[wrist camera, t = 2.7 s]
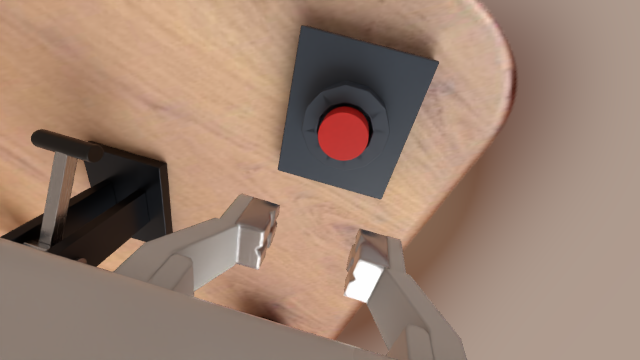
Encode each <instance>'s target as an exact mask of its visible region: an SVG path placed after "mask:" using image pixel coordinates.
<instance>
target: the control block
mask: <svg viewBox="0 0 640 360" xmlns="http://www.w3.org/2000/svg"><path fill="white" fill-rule="evenodd" d="M438 64H439V62H438V61H436V60H434V59H430V58H426V57H423V56H419V55H415V54H411V53H408V52H404V51H400V50H396V49H392V48H389V47H385V46H381V45H377V44H374V43H370V42H366V41H362V40H358V39H355V38H351V37H347V36H343V35H340V34H336V33H332V32H328V31H325V30H321V29H317V28H313V27H309V26H303V25H302V26H301V30H300V36H299V42H298V48H297V55H296V61H295V67H294V73H293V79H292V85H291V91H290V98H289V104H288V110H287V116H286V122H285V128H284V134H283V141H282V147H281V153H280V159H279V165H278V170H280V171H283V172H287V173H290V174H294V175H297V176H301V177H304V178H308V179H311V180H314V181H318V182H321V183H325V184H328V185H332V186H335V187H339V188H342V189H346V190H349V191H353V192H356V193H360V194H363V195H367V196H370V197H374V198H377V199H382V197H383V194H384V192H385V189H386V187H387V185H388V182H389V180H390V178H391V175H392V173H393V170H394V168H395V166H396V163H397V161H398V159H399V156H400V154H401V152H402V149H403V147H404V144H405V142H406V140H407V137H408V135H409V133H410V130H411V128H412V126H413V123H414V121H415V118H416V116H417V114H418V111H419V109H420V107H421V104H422V102H423V100H424V97H425V95H426V92H427V90H428V88H429V85H430V83H431V81H432V78H433V76H434V74H435V71H436V69H437V66H438ZM342 106H348V107H352V108H355V109H357V110H359V111H360V112H361V113H362V114H363V115H364V116H365V118H366V120H367V122H368V126H369V137H368V143H367V146H366V148H365V150H364V151H363V152H362V153H361V154H360V155H359V156H358V157H356V158H354V159H351V160H344V161H342V160H336V159H333V158H331V157H330V156H328V155H327V154H326V153H325V152H324V151H323V150H322V149H321V147H320V145H319V141H318V130H319V127H320V125H321V123H322V121H323V120H324V118H325V116H326V115H327V114H328V113H329V112H330V111H331V110H333V109H335V108H337V107H342Z"/></svg>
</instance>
